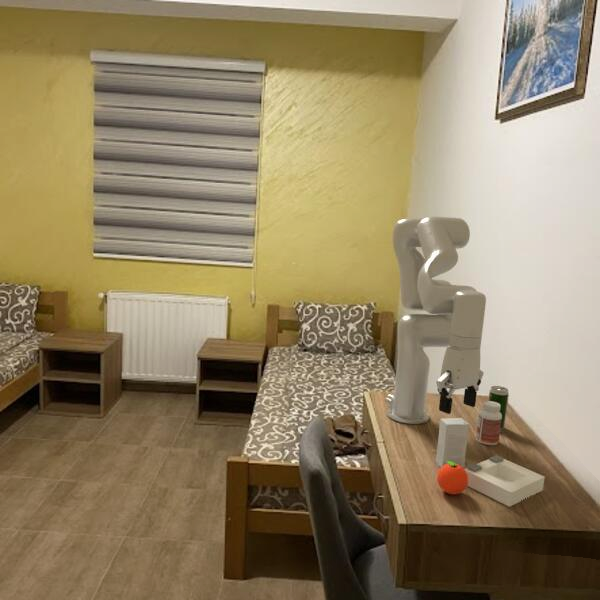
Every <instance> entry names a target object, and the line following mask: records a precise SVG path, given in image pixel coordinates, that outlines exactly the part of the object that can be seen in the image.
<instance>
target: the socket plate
mask: <svg viewBox="0 0 600 600" xmlns="http://www.w3.org/2000/svg"><path fill="white" fill-rule="evenodd" d="M464 470H465V471H466V473H467V476H468V484H467V487H469V488H471V489H473V490H475V491H477V492H479V493H481V494H483V495H484V496H487V497H489V498H491V499H493V500H495V501H497V502H499V503H500V504H502V505H505V506H507V507H512V506H514V505H516V504H518V503H521V502H522V501H524V500H526V499H528V498H530V497H532V496H534V495H537V494H538V493H540V492H543V490H544V483H545V478H546V476H544V475H542V474H539V473H536V472H535V471H533V470H530V469H529V468H526V467H524V466H521V465H519V464H518V463H517V464H516V463H514V462H512V461H510V460H508V459H505V458H504V457H501V456H499V455H497V454H496V455H493V456H490V457H489V458H488V459H486V460H483V461H481V462H479V463H473V464H470V465H469V466H468V465H467V467H464ZM536 493H537V494H536ZM531 495H532V496H531ZM529 496H530V497H529ZM527 497H528V498H527ZM525 498H526V499H525ZM523 499H524V500H523ZM521 500H522V501H521Z"/></svg>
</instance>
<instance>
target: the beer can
mask: <svg viewBox="0 0 600 600" xmlns="http://www.w3.org/2000/svg"><path fill="white" fill-rule="evenodd" d="M509 396H510V393H509V389H508V387H505V386H501V385H492V386H490V389H489V394H488V400H487V401H493V402H497V403H499V404H500V405H501V407H500V411H499V412H500V413H501V414H502V420H501V428H500V431H502V430H503V429H504V428H505V423H506V415H507V410H508V409H507V408H508V401H509Z"/></svg>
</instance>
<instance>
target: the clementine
mask: <svg viewBox="0 0 600 600" xmlns="http://www.w3.org/2000/svg"><path fill="white" fill-rule="evenodd" d="M444 463H445V462H444ZM444 463H443V464H444ZM447 463H449V464H446V465H444V466H443V465H442V466H443V467H440V469H439V470H438V472H437V476H436V477H437V478H436V479H437V484H438V486H439V488H440V489H441V490H442V491H443V492H445V493H447V494H448V495H453V496H454V495H459V494H461V493H462V492H464V491H465V489H466V488H467V487H468V486H467V484H468V476H467V473H466V471H465V470H464V469H465V467H464V468H462V467H461V466H460V465H458V464H455V463H454V462H451V461H448V462H447Z"/></svg>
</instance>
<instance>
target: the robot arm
mask: <svg viewBox="0 0 600 600" xmlns="http://www.w3.org/2000/svg"><path fill="white" fill-rule="evenodd" d="M469 227H470V226H469V225H468V223H467V222H466V221H465V220H464V219H463V218H460V217H449V216H448V217H447V216H427V217H425V218H417V217H415V218H413V217H412V218H404V219H400V220H398V221H397V222H396V223H395V224H394V227H393V231H392V246H393V251H394V254H395V257H396V259H397V263H398V269H399V284H400V286H399V287H400V299H401V301H400V302H401V304H402V306H403V308H404V309H407V310H410V311H421V312H422V311H423V312H424V311H425V312H427V313H426V314H425V313H423V314H422V313H411V314H410V313H409V314H406V315H403V316H402V317H401V318H400V319H399V321H398V322H397V342H398V343H397V344H398V345H397V347H398V349H397V351H398V352H397V360H396V362H397V363H396V372H395V382H394V393H393V395H392V394H387V396H386V397H385V398H384V402H385V403H387V404H390V405H389V407H388V408H387V410H386V415H387V416H388V417H389V418H390V419H392V420H393V421H396V422H398V423H402V424H403V423H404V424H410V425H420V424H424V423H427V422H428V421H429V419H430V414H429V413H428V411H426V402H427V400H426V399H427V393H428V383H429V376H430V374H429V373H430V365H431V363H430V358H429V356H428V354H427V353H426V352H425V350H424V348H429V347H430V348H446V349H445V351H444V356H443V359H442V365H441V371H440V375H439V378H438V379H437V380H436V386H437V392H438V395H439V396H440V397H439V406H438V410H439V411H440V412H442V413H445V414H447V415H450V414H451V413H452V408H453V407H452V405H453V397H452V396H453V394H454V392H455V391H456V390H457V391H458V390H460V389H461V390H462V389H464V394H463V395H464V396H463V403H462V404H464V405H466V406H468V407H471V408H474V407H476V402H477V393H478V391H479V390H480V385H481V384H482V378H483V376H484V374H485V373H484V371H482V370H481V347H482V346H481V345H482V338H483V337H482V336H483V328H484V320H485V314H486V313H485V311H486V303H487V297H486V295H485V294H484V293H482V292H480V291H477V290H476V289H475V288H474V287H473V286H471V285H460V284H459V285H457V284H451V283H450V282H449V281H447V280H444V279H432V278H435V277H438V276H440V275H442V274H445V273H447V272H449V271H450V270H452V269H453V268H454V267H455V266H456V265H457V263H458V261H459V254H458V252H457V249H463V248H465V247H466V246H467V244H468V243H469V241H470V237H471V232H470V228H469ZM418 248H420V249H421V250H422V253H423V255H422V253H421V252H420V251H419V250H418Z"/></svg>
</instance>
